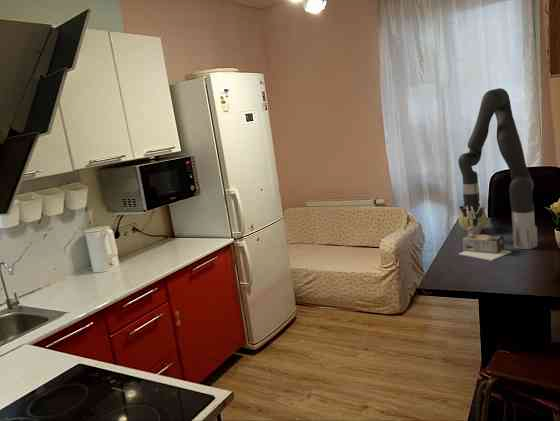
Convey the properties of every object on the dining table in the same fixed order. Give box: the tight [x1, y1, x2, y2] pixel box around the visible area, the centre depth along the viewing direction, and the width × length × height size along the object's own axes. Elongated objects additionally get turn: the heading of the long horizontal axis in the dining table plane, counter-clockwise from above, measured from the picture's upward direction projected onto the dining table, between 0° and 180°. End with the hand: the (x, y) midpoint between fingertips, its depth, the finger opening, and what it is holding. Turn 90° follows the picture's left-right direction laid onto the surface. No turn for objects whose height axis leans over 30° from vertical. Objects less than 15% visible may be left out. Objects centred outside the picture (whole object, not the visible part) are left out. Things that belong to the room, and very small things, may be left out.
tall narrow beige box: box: [466, 211, 482, 235], centre depth 232 cm, size 2×8×13 cm, turn 122°
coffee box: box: [462, 233, 505, 253], centre depth 217 cm, size 9×6×16 cm
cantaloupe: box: [458, 209, 488, 232], centre depth 250 cm, size 15×15×15 cm
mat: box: [458, 249, 512, 261], centre depth 213 cm, size 17×15×1 cm
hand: (473, 225), depth 232 cm, fingers closed on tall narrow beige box, 2 cm apart
